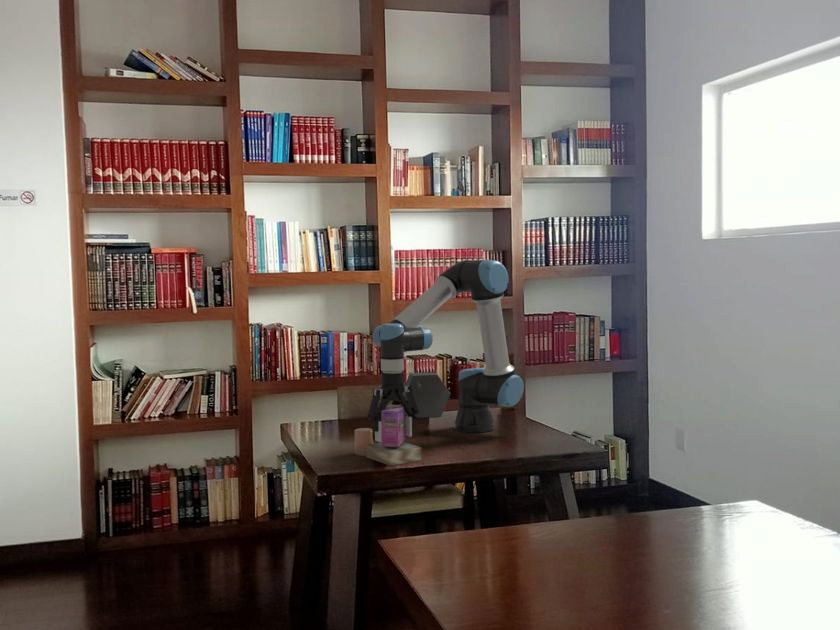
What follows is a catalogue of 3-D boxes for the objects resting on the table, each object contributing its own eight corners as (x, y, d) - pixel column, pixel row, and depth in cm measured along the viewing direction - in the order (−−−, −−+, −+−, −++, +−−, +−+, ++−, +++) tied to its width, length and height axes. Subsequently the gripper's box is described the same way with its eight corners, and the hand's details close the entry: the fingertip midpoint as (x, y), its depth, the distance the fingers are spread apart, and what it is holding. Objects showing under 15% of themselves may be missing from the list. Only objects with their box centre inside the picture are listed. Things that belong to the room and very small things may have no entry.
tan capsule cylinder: (366, 450, 280) (366, 427, 279) (376, 453, 275) (376, 430, 274) (351, 453, 276) (351, 429, 276) (361, 456, 271) (360, 432, 271)
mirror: (397, 451, 277) (397, 439, 277) (421, 459, 266) (421, 446, 266) (366, 457, 270) (366, 444, 270) (390, 465, 259) (390, 452, 259)
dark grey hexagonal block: (453, 401, 347) (426, 361, 343) (457, 404, 339) (430, 363, 336) (420, 425, 344) (393, 385, 341) (424, 428, 337) (396, 388, 333)
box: (398, 447, 262) (398, 410, 261) (381, 446, 263) (380, 410, 262) (405, 440, 272) (405, 404, 271) (389, 439, 273) (388, 404, 273)
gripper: (415, 367, 276) (416, 431, 277) (355, 373, 262) (356, 441, 264) (428, 369, 270) (429, 435, 271) (367, 376, 256) (369, 445, 258)
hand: (393, 438), depth 268 cm, fingers closed on box, 11 cm apart
